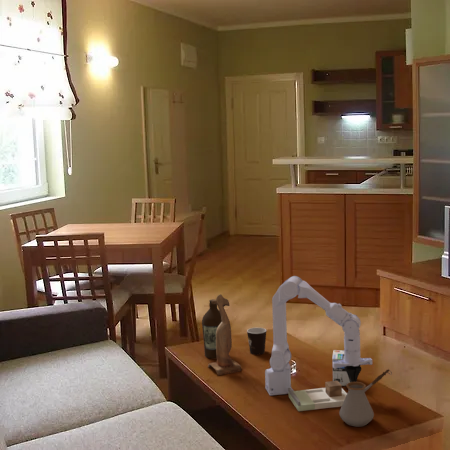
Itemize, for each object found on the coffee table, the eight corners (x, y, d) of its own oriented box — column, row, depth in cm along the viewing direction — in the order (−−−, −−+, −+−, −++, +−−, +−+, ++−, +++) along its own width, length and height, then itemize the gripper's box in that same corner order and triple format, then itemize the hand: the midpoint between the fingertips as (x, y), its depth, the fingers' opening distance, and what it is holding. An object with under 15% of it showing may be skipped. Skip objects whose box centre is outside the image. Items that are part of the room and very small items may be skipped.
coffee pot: (355, 432, 219) (354, 388, 217) (332, 420, 229) (331, 377, 227) (402, 415, 230) (402, 373, 228) (378, 404, 240) (378, 364, 238)
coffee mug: (267, 355, 295) (266, 333, 294) (247, 355, 295) (247, 333, 294) (266, 346, 307) (265, 325, 305) (247, 347, 307) (246, 325, 305)
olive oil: (207, 350, 304) (205, 296, 301) (230, 351, 301) (227, 297, 298) (200, 358, 294) (197, 303, 290) (223, 360, 291) (221, 303, 288)
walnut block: (329, 397, 243) (329, 386, 242) (325, 392, 247) (325, 381, 247) (341, 395, 244) (341, 385, 243) (337, 391, 248) (337, 380, 248)
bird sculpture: (243, 371, 278) (242, 295, 274) (217, 376, 273) (216, 298, 269) (231, 363, 288) (229, 290, 284) (206, 368, 283) (204, 293, 279)
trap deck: (298, 411, 237) (298, 401, 236) (288, 396, 250) (288, 387, 249) (352, 405, 240) (352, 395, 240) (340, 391, 253) (340, 382, 252)
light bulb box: (350, 386, 257) (349, 359, 255) (332, 385, 258) (331, 358, 257) (350, 376, 267) (350, 350, 266) (333, 375, 269) (333, 349, 267)
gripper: (336, 354, 239) (337, 391, 241) (375, 350, 242) (375, 386, 244) (330, 348, 246) (331, 383, 248) (368, 344, 249) (368, 379, 251)
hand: (352, 384), depth 246 cm, fingers closed
